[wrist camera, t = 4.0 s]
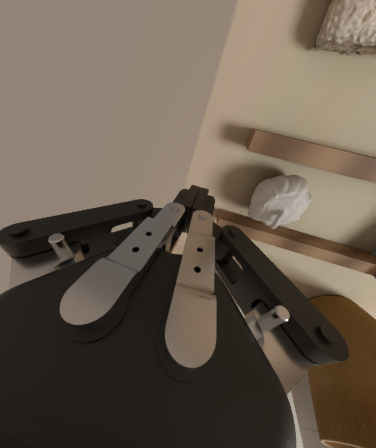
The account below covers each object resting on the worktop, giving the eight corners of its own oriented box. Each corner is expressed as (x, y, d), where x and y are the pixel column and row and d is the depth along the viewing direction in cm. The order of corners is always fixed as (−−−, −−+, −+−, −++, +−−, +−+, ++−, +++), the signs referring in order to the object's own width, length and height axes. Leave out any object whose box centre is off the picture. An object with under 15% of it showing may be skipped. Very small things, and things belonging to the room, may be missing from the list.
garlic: (264, 220, 19) (272, 248, 15) (236, 195, 18) (238, 217, 14) (312, 191, 16) (340, 216, 12) (283, 156, 15) (302, 171, 11)
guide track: (506, 189, 12) (585, 209, 9) (374, 264, 19) (398, 289, 16) (252, 128, 14) (258, 130, 11) (217, 218, 21) (215, 233, 18)
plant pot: (342, 331, 30) (423, 484, 17) (269, 309, 32) (293, 434, 19) (422, 299, 21) (716, 577, 8) (312, 271, 22) (412, 462, 10)
